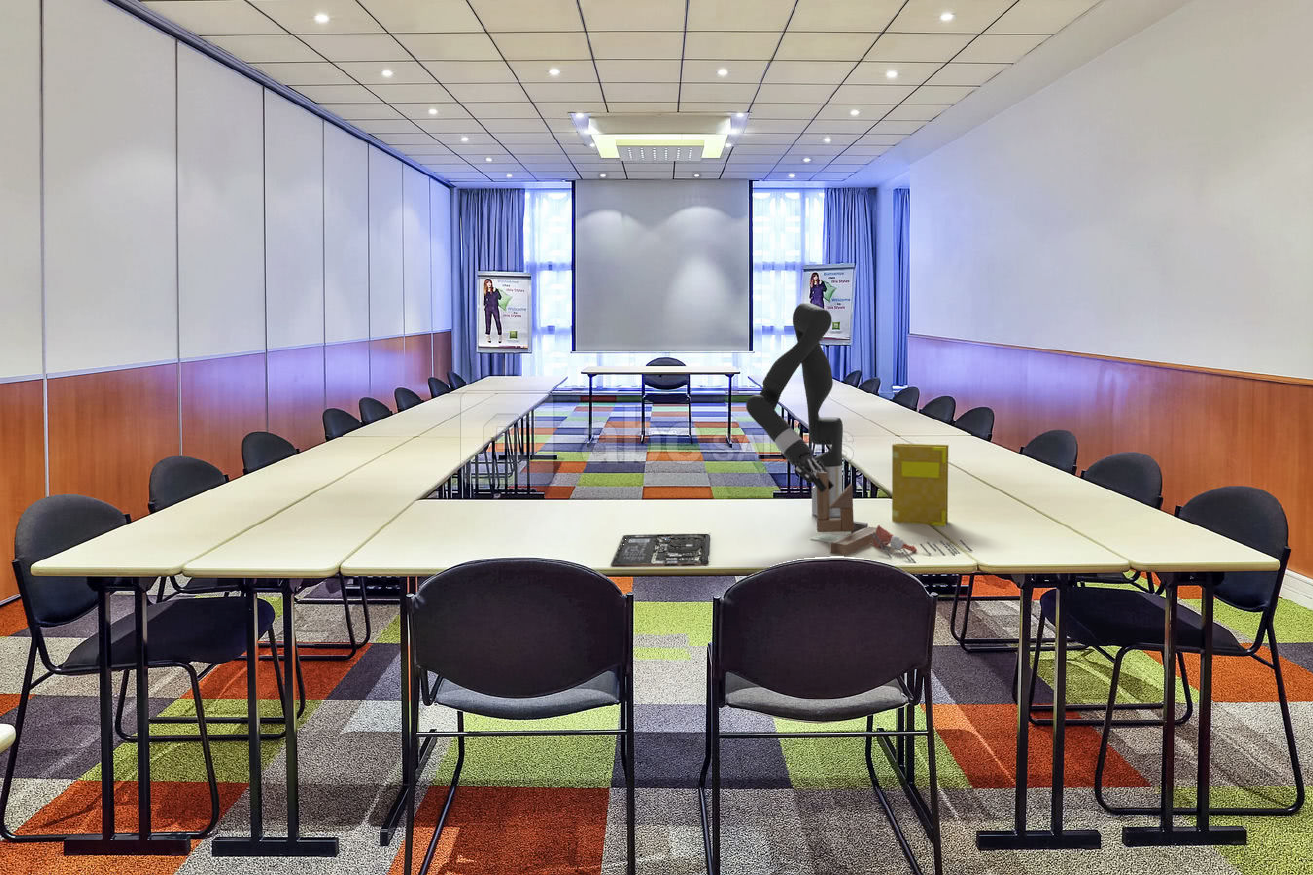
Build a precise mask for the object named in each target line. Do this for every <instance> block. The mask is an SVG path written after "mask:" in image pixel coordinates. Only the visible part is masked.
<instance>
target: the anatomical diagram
mask: <svg viewBox="0 0 1313 875" xmlns="http://www.w3.org/2000/svg"><path fill="white" fill-rule="evenodd" d="M876 528H877V529H876V533H874V535H875V537H874V536H873V535H872V534H869V535H871V536H872V537H873V538H874V543H872V546H873V547H874V548H876V549H882V551H884V552H885V553H886V555H887V556H888V557H889V558H890V559H892V558H893V557H892V555H891V554H890V552H891V550H890V548H888V547H887V546H888V545H890V547H891V548H892V549H893V550H895V551H899V552H901V553H902V554H903V556H904V557H905V558H906V559H907V560H908V562H913V563H914V564H916V563H917V561H915V560H914V558H912V557H911V556H910V555H909V553H908V552H907V551H910V552H913V553H914V552H916V551H917V550H918V549H917V548H916V546H914V545H915V542H913V541H921V539H919V538H917V539H916V538H913V541H908V540H904V539H901V537H900V536H898V535H894V534H892V532H890V531H888V530H887V529H885V528H884V527H882V526H881V525H880V524H878V525H877V526H876ZM923 542H924V543H925V544H927V546H928V547H930V548H931V549H932V550H933V551H934V552H937V550H938V552H939V553H940V554H941V555H942V556H946V554H945V553H944V552H943V551H942V550H941V548H939V547H938V546H937V545H936V544H937V542H934V541H932V542H931V541H930V542H929V541H927V540H926V539H923ZM959 542H960V543H961V544H963V546H964V547H965V548H966V549H967V550H968V551H969V552H973V549H971V548H970V547H969V546H968V545H966V543H965V542H964V541H963V540H962V539H960V540H959ZM939 543H940V544H942V545H943V546H944V547H945V549H947V550H948V552H949V553H950V554H951V555H952V556H954V557H955V556H956V555H958V554H959V555H960V554H961V552H959V550H958V549H957V548H956V547H955V546H954V545H953V543H951V542H950V541H949V542H943V539H939ZM910 544H912V545H910ZM919 546H920V547H921V548H922V549H923V550H924V551H925V553H927V554H928V555H929V556H932V553H931V552H930V551H929V550H928V549H927V548H926V547H925V546H924V545H923V543H919ZM933 546H934V547H933Z"/></svg>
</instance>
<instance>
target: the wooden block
mask: <svg viewBox="0 0 1313 875" xmlns="http://www.w3.org/2000/svg"><path fill="white" fill-rule="evenodd" d="M816 474H817V476H818V477H819V478H818V479H820V480H821V481H822V482H823V483H824V484H825V486H826V487H827V489H826V490H825V491H824V492H821V491H820V490H819V489H818V488H817V487H816V488H817V516H816V517H817V518H816V531H817V532H818V533H834V532H835V533H836V532H837V533H839V532H842V533H846V532H847V533H848V532H849V533H851V532H853V531H854V522H855V521H854V496H853V491H854V490H853V484H852V483H850V484H849V485H848V486H847V487H846V488H845V489H844V490H842V493H841V494H840V495H839V496H838V497H837V498H836V499H835V500H834V501H833V503H832V504H831V505H830V506H829V487H828V472H817V473H816ZM829 508H830V509H832V508H840V516H839V517H840V518H830V517H829Z"/></svg>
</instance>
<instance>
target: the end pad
mask: <svg viewBox="0 0 1313 875" xmlns="http://www.w3.org/2000/svg"><path fill="white" fill-rule="evenodd" d="M845 536H846V535H845ZM845 536H844V535H837V534H829V533H820V534H819V535H815V536H814V537H812V538H810V541H818V542H824V543H829V544H830V543H831V542H833V541H835V540H838V539H840V538H842V537H845Z"/></svg>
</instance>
